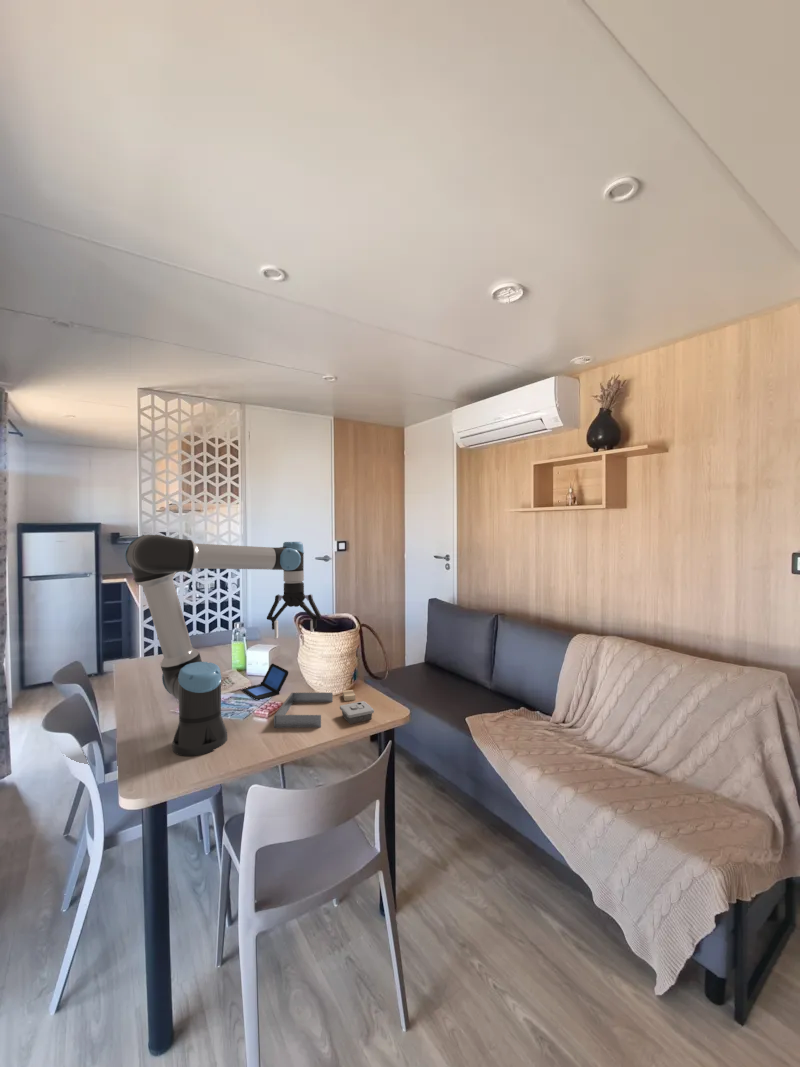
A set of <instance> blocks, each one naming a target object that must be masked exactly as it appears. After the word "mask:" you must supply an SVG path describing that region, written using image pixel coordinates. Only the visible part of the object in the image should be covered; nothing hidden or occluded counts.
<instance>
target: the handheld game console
mask: <svg viewBox="0 0 800 1067" xmlns="http://www.w3.org/2000/svg"><path fill="white" fill-rule="evenodd" d="M288 675H289V671H288V670H287V669H285V668H283V667H281V666H279V665H277V664H276V663H271V664H270V665H269V667H268V670H267V671H266V673H265V675H264V677H263V678H262V681H261V682H260V683H259V684H254V685H250V686H247V687H248V688H246V687H245V688H246V689H243V688H242V689H243V691H244V692H243V691H242V692H243V693H245V692H246V693H247V694H246V693H245V694H246V695H248V694H249V695H250V696H249V695H248V696H249V697H251V696H252V697H253V698H252V697H251V698H252V699H254V698H255V699H258V700H257V701H261V700H260V699H262V700H264V699H268V698H272V697H276V696H279V695H280V692H281V690H282V688H283V686H284V684H285V682H286V680H287V677H288ZM255 699H254V700H255Z"/></svg>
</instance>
